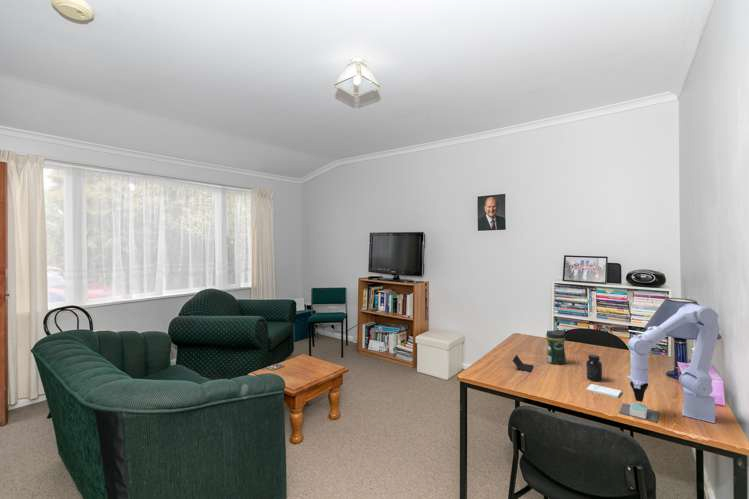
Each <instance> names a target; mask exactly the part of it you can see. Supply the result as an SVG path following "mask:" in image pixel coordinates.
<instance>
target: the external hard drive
mask: <svg viewBox="0 0 749 499" xmlns="http://www.w3.org/2000/svg"><path fill="white" fill-rule="evenodd" d="M586 391H588V392H592V393H596V394H599V395H604V396H607V397H612V398H614V399H615V398H616V399H619V398H620V397H621V395H622V393H623V390H619V389H616V388H611V387H607V386H603V385H602V386H601V385H599V384H595V383H594V384H593V383H591V384H589V385H588V387H586Z"/></svg>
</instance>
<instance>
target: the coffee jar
mask: <svg viewBox="0 0 749 499" xmlns="http://www.w3.org/2000/svg"><path fill="white" fill-rule="evenodd" d="M545 336H546V340H547V351H546V361H547V362H548V364H552V365H564V364H566V363H567V360H566V353H565V351H566V350H565V341H566V335H565V332H564V331H562V330H547V331H546V334H545Z"/></svg>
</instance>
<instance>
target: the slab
mask: <svg viewBox="0 0 749 499" xmlns="http://www.w3.org/2000/svg"><path fill="white" fill-rule="evenodd" d="M630 405H631V407H630V415H632V416H636V417H640V418H644V419H646V415H647V409H648V405H645V404H641V403H635V402H631V404H630ZM632 416H631V417H632ZM636 417H635V418H636ZM640 418H639V419H640ZM644 419H643V420H644Z"/></svg>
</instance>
